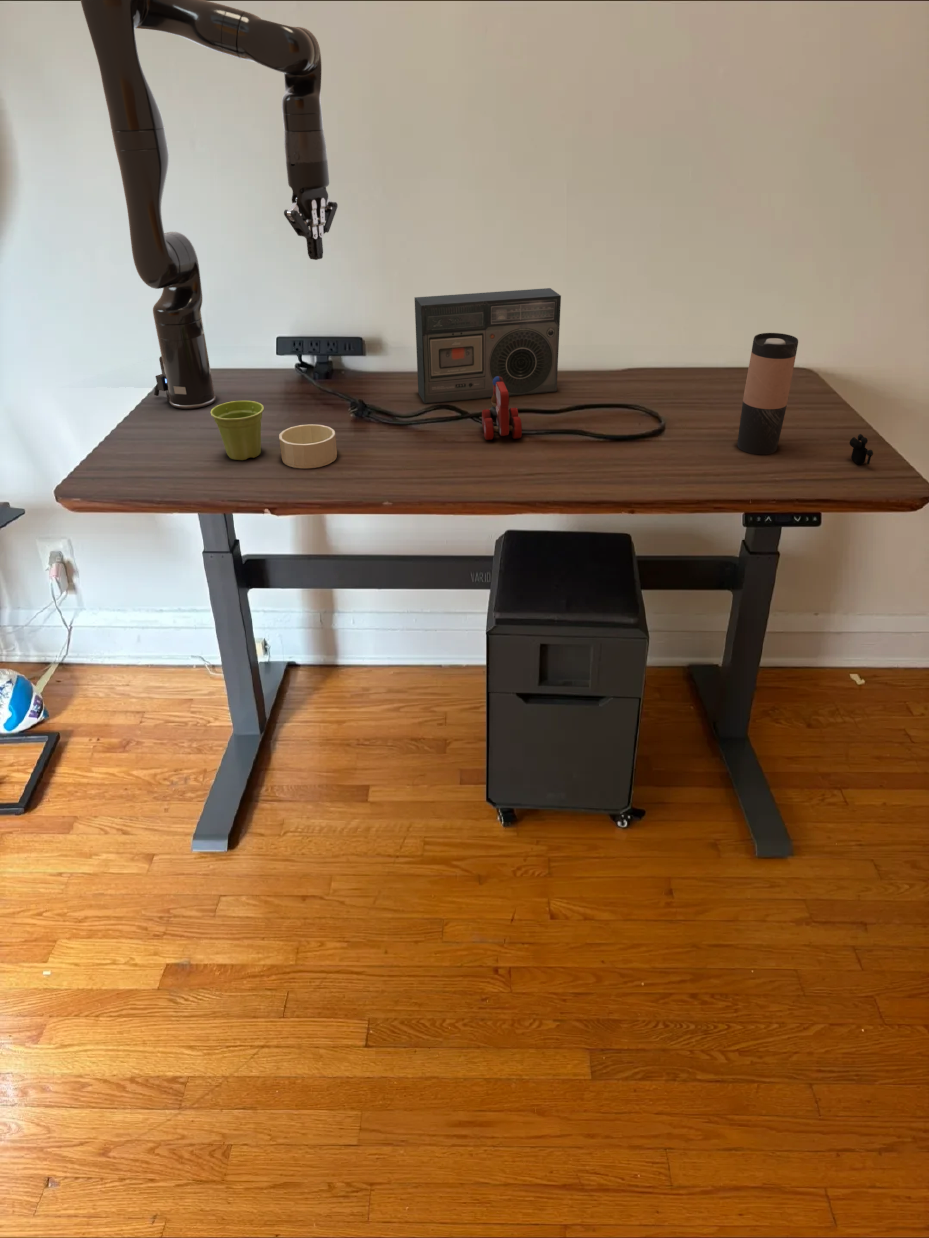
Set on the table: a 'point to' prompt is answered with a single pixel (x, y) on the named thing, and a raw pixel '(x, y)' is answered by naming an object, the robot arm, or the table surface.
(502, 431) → the red toy vehicle
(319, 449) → the beige round bowl
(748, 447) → the travel mug
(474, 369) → the cassette player
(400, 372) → the table surface
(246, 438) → the plant pot
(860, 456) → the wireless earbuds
